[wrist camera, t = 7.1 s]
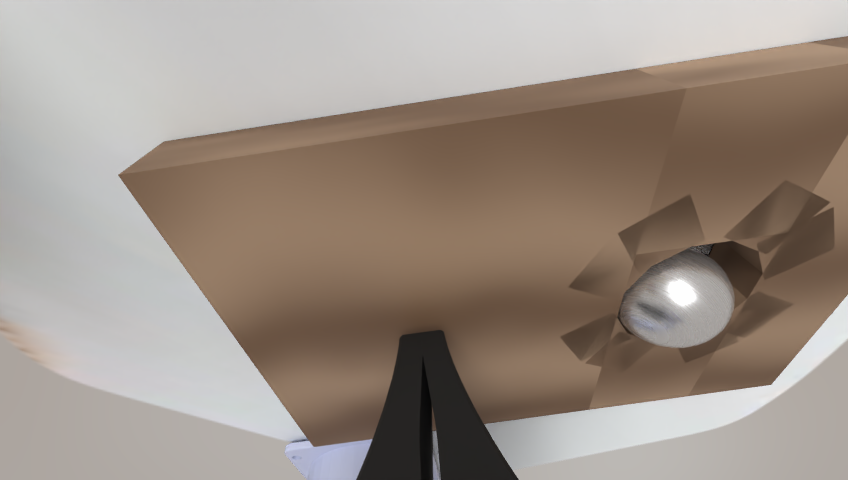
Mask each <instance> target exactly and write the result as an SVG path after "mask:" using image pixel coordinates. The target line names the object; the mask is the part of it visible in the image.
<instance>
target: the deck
mask: <svg viewBox="0 0 848 480" xmlns="http://www.w3.org/2000/svg"><path fill="white" fill-rule="evenodd" d="M118 176H119V177H120V178H121V180H122V181H123V182H124V184H125V185H126V187H127V188H128V189H129V191H130V192H131V194H132V195H133V196H134V198H135V199H136V201H137V202H138V203H139V205H140V206H141V208H142V209H143V210H144V212H145V213H146V214H147V216H148V217H149V219H150V220H151V221H152V223H153V224H154V226H155V227H156V228H157V230H158V231H159V233H160V234H161V235H162V237H163V238H164V240H165V241H166V242H167V244H168V245H169V246H170V248H171V249H172V251H173V252H174V253H175V255H176V256H177V258H178V259H179V260H180V262H181V263H182V265H183V266H184V267H185V269H186V270H187V272H188V273H189V274H190V276H191V277H192V279H193V280H194V281H195V283H196V284H197V285H198V287H199V288H200V290H201V291H202V292H203V294H204V295H205V297H206V298H207V299H208V301H209V302H210V304H211V305H212V306H213V308H214V309H215V311H216V312H217V313H218V315H219V316H220V317H221V319H222V320H223V322H224V323H225V324H226V326H227V327H228V329H229V330H230V331H231V333H232V334H233V336H234V337H235V338H236V340H237V341H238V343H239V344H240V345H241V347H242V348H243V349H244V351H245V352H246V354H247V355H248V356H249V358H250V359H251V361H252V362H253V363H254V365H255V366H256V368H257V369H258V370H259V372H260V373H261V375H262V376H263V377H264V379H265V380H266V381H267V383H268V384H269V386H270V387H271V388H272V390H273V391H274V393H275V394H276V395H277V397H278V398H279V400H280V401H281V402H282V404H283V405H284V407H285V408H286V409H287V411H288V412H289V413H290V415H291V416H292V418H293V419H294V420H295V422H296V423H297V425H298V426H299V427H300V429H301V430H302V432H303V433H304V434H305V436H306V437H307V439H308V440H309V441H310V443H311V444H312V445H313V447H319V446H326V445H333V444H341V443H348V442H355V441H363V440H370V439H373V437H374V434H375V431H376V428H377V425H378V422H379V419H380V416H381V413H382V411H383V408H384V404H385V401H386V398H387V394H388V391H389V387H390V383H391V380H392V376H393V372H394V368H395V363H396V358H397V353H398V347H399V338H400V337H401V336H402V335H405V334H413V333H420V332H428V331H435V330H442V331H444V334H445V338H446V342H447V346H448V349H449V352H450V354H451V357H452V360H453V362H454V365H455V367H456V370H457V372H458V374H459V377H460V379H461V381H462V383H463V385H464V387H465V389H466V391H467V393H468V395H469V397H470V399H471V401H472V403H473V405H474V407H475V409H476V411H477V413H478V414H479V416H480V418H481V420H482V422H483V423H484V424H487V423H494V422H502V421H509V420H516V419H524V418H531V417H538V416H546V415H553V414H560V413H568V412H575V411H582V410H590V409H597V408H604V407H612V406H619V405H626V404H634V403H641V402H648V401H656V400H663V399H670V398H677V397H685V396H692V395H699V394H707V393H714V392H721V391H729V390H736V389H743V388H751V387H758V386H765V385H771V384H772V383H773V382H774V381H775V380H776V378H777V377H778V376H779V375H780V374H781V372H782V371H783V370H784V369H785V368H786V367H787V365H788V364H789V363H790V362H791V361H792V360H793V358H794V357H795V356H796V355H797V354H798V352H799V351H800V350H801V349H802V348H803V347H804V345H805V344H806V343H807V342H808V341H809V340H810V338H811V337H812V336H813V335H814V334H815V333H816V331H817V330H818V329H819V328H820V327H821V325H822V324H823V323H824V322H825V321H826V320H827V318H828V317H829V316H830V315H831V314H832V313H833V311H834V310H835V309H836V308H837V307H838V305H839V304H840V303H841V302H842V301H843V300H844V298H845V297H846V296H847V295H848V36H847V37H840V38H834V39H827V40H821V41H814V42H808V43H801V44H795V45H788V46H782V47H775V48H769V49H762V50H756V51H749V52H743V53H736V54H730V55H723V56H717V57H710V58H704V59H697V60H691V61H684V62H678V63H671V64H665V65H658V66H652V67H645V68H639V69H632V70H626V71H619V72H613V73H606V74H600V75H593V76H587V77H580V78H574V79H567V80H561V81H554V82H548V83H541V84H535V85H528V86H522V87H515V88H509V89H502V90H496V91H489V92H483V93H476V94H470V95H463V96H457V97H450V98H444V99H437V100H431V101H424V102H418V103H411V104H405V105H398V106H392V107H385V108H379V109H372V110H366V111H359V112H353V113H347V114H340V115H334V116H327V117H321V118H314V119H308V120H301V121H295V122H288V123H282V124H275V125H269V126H262V127H256V128H249V129H243V130H236V131H230V132H223V133H217V134H210V135H204V136H197V137H191V138H184V139H178V140H171V141H165V142H163V143H161V144H160V145H159V146H157V147H156V148H154V149H153V150H152V151H150V152H149V153H148V154H146V155H145V156H143V157H142V158H141V159H139V160H138V161H137V162H135V163H134V164H133V165H131V166H130V167H128V168H127V169H126V170H124V171H123V172H122V173H120V174H119V175H118ZM713 243H715V244H714V246H713V248H712V250H711V252H710V254H709V257H710V258H711V259H713V260H714V261H715V262H716V263H717V264H718V265H719V266H720V267H721V268H722V269H723V270H724V272H725V273H726V274H727V276H728V278H729V280H730V282H731V284H732V287H733V291H734V298H735V299H734V310H733V314H732V316H731V318H730V320H729V323H728V324H727V325H726V326H725V328H724V329H723V330H722V331H721V332H720V333H719V334H718V335H717V336H715V337H714V338H712V339H711V340H709V341H707V342H705V343H702V344H700V345H696V346H692V347H687V348H669V347H662V346H658V345H655V344H652V343H649V342H647V341H644V340H642V339H641V338H639V337H637V336H636V335H634V334H633V333H631V332H630V331H629V330H628V329H627V328H626V327H625V326H624V325H623V324H622V323H621V321H620V320H619V319H618V317H617V315H618V312H619V309H620V306H621V302H622V299H623V296H624V293H625V292H626V291H627V290H628V289H629V288H630V287H631V286H632V285H633V284H634V283H635V282H636V281H637V280H638V279H639V278H640V277H641V276H642V275H643V274H644V273H645V272H646V271H647V270H648V269H649V268H650V267H651V266H653V265H655V264H657V263H659V262H661V261H663V260H665V259H667V258H669V257H671V256H673V255H675V254H677V253H679V252H681V251H683V250H685V249H687V248H689V247H692V246H699V245H706V244H713ZM432 431H436V425H435V418H434V413H433V408H432Z"/></svg>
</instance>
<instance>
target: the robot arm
mask: <svg viewBox="0 0 848 480" xmlns="http://www.w3.org/2000/svg"><path fill="white" fill-rule="evenodd" d="M432 408H433V413H434V418H435V425H436V432H437V439H438V451H439V462H440V473H441V480H518V478H517V477H516V475H515V474H514V472H513V470H512V469H511V467H510V466H509V464H508V463H507V461H506V460H505V458H504V457H503V455H502V453H501V452H500V450H499V449H498V447H497V445H496V444H495V442H494V441H493V439H492V437H491V436H490V434H489V432H488V430H487V429H486V427H485V425H484V423H483V422H482V420H481V418H480V416H479V414H478V413H477V411H476V409H475V407H474V405H473V403H472V401H471V399H470V397H469V395H468V393H467V391H466V389H465V387H464V385H463V383H462V381H461V379H460V377H459V374H458V372H457V370H456V367H455V365H454V362H453V360H452V357H451V354H450V352H449V349H448V346H447V342H446V338H445V334H444V331H442V330H435V331H428V332H420V333H413V334H405V335H402V336H401V337H400V338H399V347H398V353H397V358H396V363H395V368H394V372H393V376H392V380H391V383H390V387H389V391H388V394H387V398H386V401H385V404H384V408H383V411H382V413H381V416H380V419H379V422H378V425H377V428H376V431H375V434H374V437H373V439H370V440H363V441H355V442H348V443H341V444H333V445H326V446H319V447H313V445H312V444H311V443H310V441H302V442H294V443H290V444H288V445H287V446H286V448H285V452H284V453H285V455H286V456H287V457H288V458H289V460H290V461H291V462H292V463H293V464H294V465H295V466H296V468H297V469H298V470H299V471H300V472H301V474H302V475H303V476H304V477H305V478H306V479H307V480H440V477H439V474H438V470H437V466H436V462H435V458H434V454H433V435H432Z"/></svg>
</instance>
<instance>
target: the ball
mask: <svg viewBox="0 0 848 480" xmlns="http://www.w3.org/2000/svg"><path fill="white" fill-rule="evenodd" d="M734 299H735V298H734V291H733V287H732V284H731V282H730V280H729V278H728V276H727V274H726V273H725V272H724V270H723V269H722V268H721V267H720V266H719V265H718V264H717V263H716V262H715V261H714V260H713V259H711V258H710V257H708V256H707V255H705V254H703V253H701V252H699V251H697V250H695V249H692V248H687V249H685V250H683V251H681V252H679V253H677V254H675V255H673V256H671V257H669V258H667V259H665V260H663V261H661V262H659V263H657V264H655V265H653V266H651V267H650V268H649V269H648V270H647V271H646V272H645V273H644V274H643V275H642V276H641V277H640V278H639V279H638V280H637V281H636V282H635V283H634V284H633V285H632V286H631V287H630V288H629V289H628V290H627V291H626V292H625V293H624V296H623V299H622V302H621V306H620V309H619V312H618V315H617V317H618V319H619V320H620V321H621V323H622V324H623V325H624V326H625V327H626V328H627V329H628V330H629V331H630V332H631V333H633V334H634V335H636V336H637V337H639V338H641V339H642V340H644V341H647V342H649V343H652V344H655V345H658V346H662V347H669V348H687V347H692V346H696V345H700V344H702V343H705V342H707V341H709V340H711V339H712V338H714V337H715V336H717V335H718V334H719V333H720V332H721V331H722V330H723V329H724V328H725V326H726V325H727V324H728V323H729V320H730V318H731V316H732V314H733V310H734Z"/></svg>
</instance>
